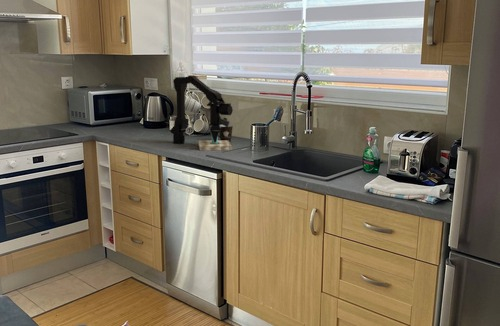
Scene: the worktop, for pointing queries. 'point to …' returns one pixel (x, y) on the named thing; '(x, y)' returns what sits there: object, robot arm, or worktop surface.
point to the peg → (213, 140)
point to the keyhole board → (214, 145)
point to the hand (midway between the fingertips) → (214, 140)
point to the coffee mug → (226, 132)
